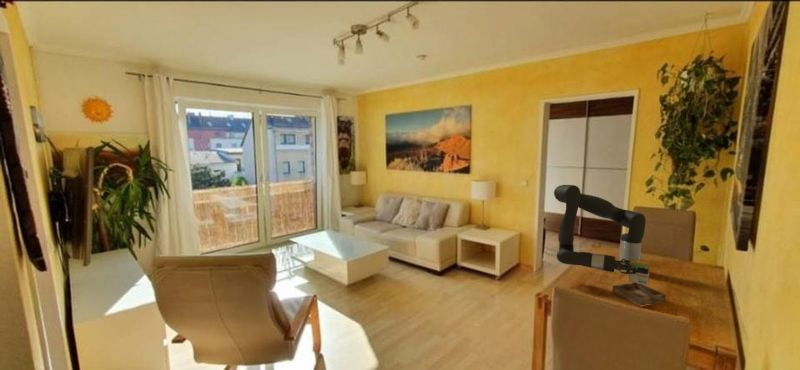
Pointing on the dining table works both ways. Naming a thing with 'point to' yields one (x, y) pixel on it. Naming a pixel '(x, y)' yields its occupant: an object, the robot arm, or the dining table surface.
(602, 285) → the dining table surface
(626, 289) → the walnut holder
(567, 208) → the robot arm
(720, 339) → the dining table surface
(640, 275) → the crayon box
